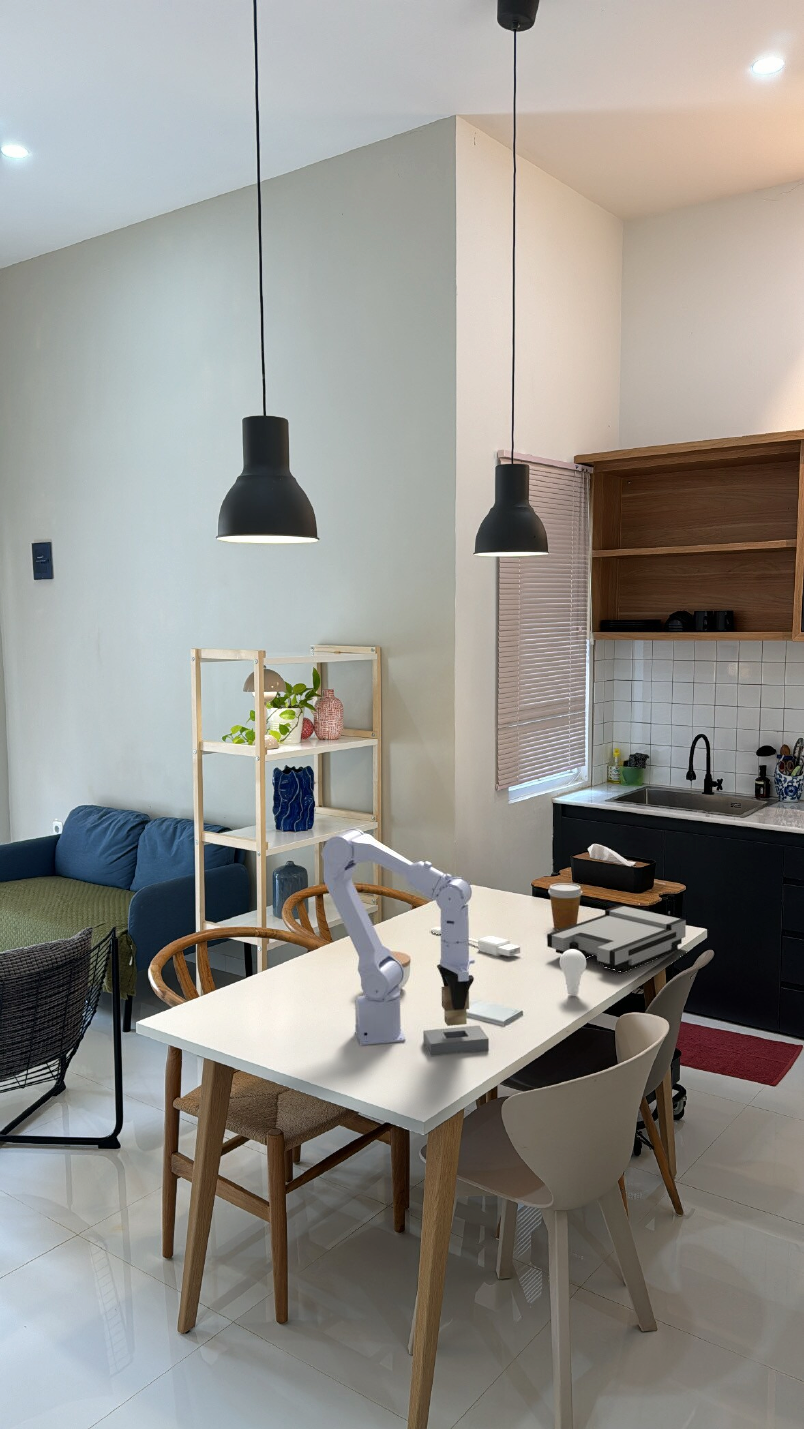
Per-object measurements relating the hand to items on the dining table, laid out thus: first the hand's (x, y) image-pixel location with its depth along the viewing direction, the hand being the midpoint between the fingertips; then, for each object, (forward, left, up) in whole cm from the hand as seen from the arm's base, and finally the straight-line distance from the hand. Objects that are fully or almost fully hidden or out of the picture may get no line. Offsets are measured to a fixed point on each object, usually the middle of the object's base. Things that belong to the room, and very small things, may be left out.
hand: (455, 1004), depth 207 cm
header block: (0, 0, -9) cm, 9 cm away
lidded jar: (-8, +36, -9) cm, 37 cm away
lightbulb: (+34, +22, -9) cm, 41 cm away
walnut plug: (0, 0, -4) cm, 4 cm away
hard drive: (+12, +15, -10) cm, 22 cm away
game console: (+56, +48, -9) cm, 74 cm away
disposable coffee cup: (+50, +72, -9) cm, 89 cm away
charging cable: (+21, +64, -9) cm, 68 cm away
